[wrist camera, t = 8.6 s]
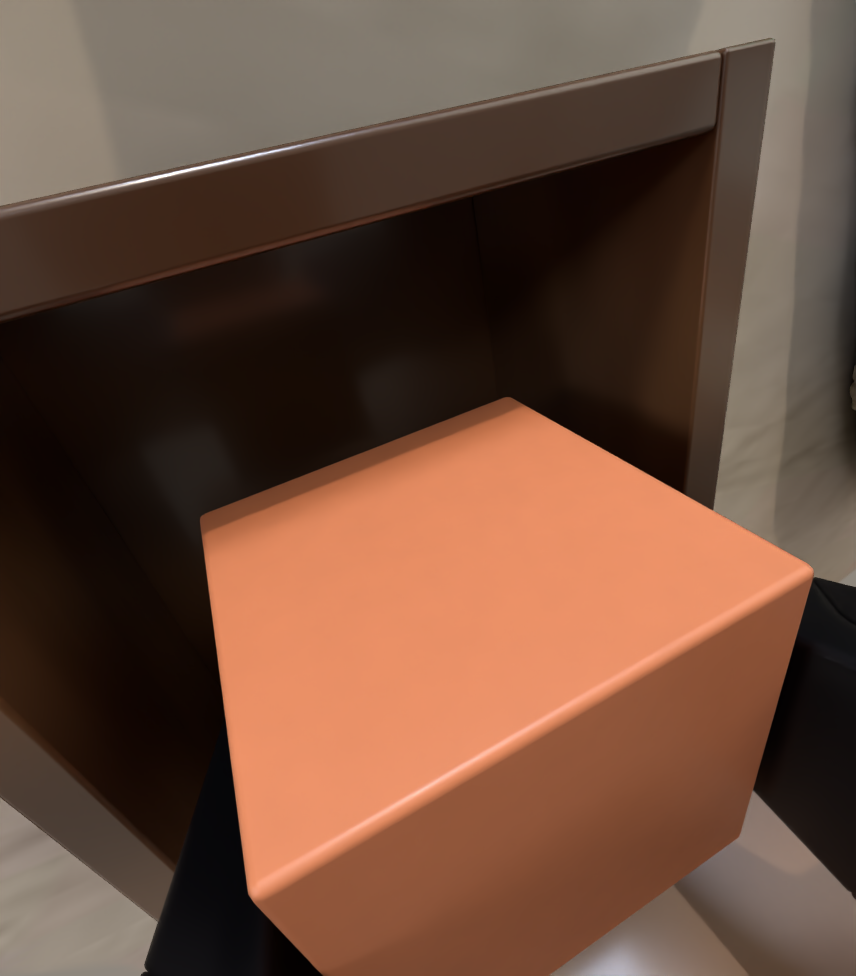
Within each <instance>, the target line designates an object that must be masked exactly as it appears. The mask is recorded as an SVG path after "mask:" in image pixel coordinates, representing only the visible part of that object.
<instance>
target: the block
mask: <svg viewBox="0 0 856 976" xmlns="http://www.w3.org/2000/svg"><path fill="white" fill-rule="evenodd" d="M200 526H201V534H202V542H203V550H204V557H205V565H206V573H207V580H208V588H209V596H210V604H211V611H212V619H213V627H214V634H215V642H216V650H217V658H218V665H219V673H220V681H221V689H222V696H223V704H224V712H225V719H226V727H227V735H228V743H229V750H230V758H231V766H232V773H233V781H234V789H235V797H236V804H237V812H238V820H239V828H240V835H241V843H242V851H243V858H244V866H245V874H246V882H247V889H248V895H249V896H250V898H251V899H252V901H253V902H254V903H255V904H256V905H257V907H258V908H259V909H260V910H261V911H262V912H263V913H264V914H265V915H266V916H267V917H268V918H269V919H270V920H271V921H272V922H273V923H274V924H275V926H276V927H277V928H278V929H279V930H280V931H281V932H282V933H283V934H284V935H285V936H286V937H287V938H288V939H289V940H290V941H291V942H292V944H293V945H294V946H295V947H296V948H297V949H298V950H299V951H300V952H301V953H302V954H303V955H304V956H305V957H306V958H307V959H308V960H309V961H310V963H311V964H312V965H313V966H314V967H315V968H316V969H317V970H318V971H319V972H320V973H321V974H322V975H323V976H549V975H550V974H551V973H553V972H554V971H556V970H557V969H558V968H560V967H561V966H563V965H564V964H565V963H567V962H568V961H569V960H571V959H572V958H574V957H575V956H576V955H578V954H579V953H580V952H582V951H583V950H585V949H586V948H587V947H589V946H590V945H591V944H593V943H594V942H596V941H597V940H598V939H600V938H601V937H602V936H604V935H605V934H607V933H608V932H609V931H611V930H612V929H613V928H615V927H616V926H618V925H619V924H620V923H622V922H623V921H624V920H626V919H627V918H629V917H630V916H631V915H633V914H634V913H635V912H637V911H638V910H640V909H641V908H642V907H644V906H645V905H646V904H648V903H649V902H651V901H652V900H653V899H655V898H656V897H657V896H659V895H660V894H662V893H663V892H664V891H666V890H667V889H668V888H670V887H671V886H673V885H674V884H675V883H677V882H678V881H679V880H681V879H682V878H684V877H685V876H686V875H688V874H689V873H690V872H692V871H693V870H695V869H696V868H697V867H699V866H700V865H701V864H703V863H704V862H706V861H707V860H708V859H710V858H711V857H712V856H714V855H715V854H717V853H718V852H719V851H721V850H722V849H723V848H725V847H726V846H728V845H729V844H730V843H732V842H733V841H734V840H736V839H737V838H739V836H740V833H741V830H742V827H743V823H744V819H745V816H746V812H747V809H748V805H749V802H750V798H751V795H752V791H753V788H754V784H755V781H756V777H757V774H758V770H759V767H760V763H761V759H762V756H763V752H764V749H765V745H766V742H767V738H768V735H769V731H770V728H771V724H772V721H773V717H774V714H775V710H776V706H777V703H778V699H779V696H780V692H781V689H782V685H783V682H784V678H785V675H786V671H787V668H788V664H789V661H790V657H791V654H792V650H793V646H794V643H795V639H796V636H797V632H798V629H799V625H800V622H801V618H802V615H803V611H804V608H805V604H806V601H807V597H808V593H809V590H810V586H811V583H812V579H813V576H814V572H813V569H812V568H811V567H810V566H809V564H807V563H805V562H804V561H802V560H800V559H798V558H797V557H795V556H793V555H791V554H789V553H788V552H786V551H784V550H782V549H780V548H779V547H777V546H775V545H773V544H772V543H770V542H768V541H766V540H764V539H763V538H761V537H759V536H757V535H755V534H754V533H752V532H750V531H748V530H747V529H745V528H743V527H741V526H739V525H738V524H736V523H734V522H732V521H730V520H729V519H727V518H725V517H723V516H722V515H720V514H718V513H716V512H714V511H713V510H711V509H709V508H707V507H706V506H704V505H702V504H700V503H698V502H697V501H695V500H693V499H691V498H689V497H688V496H686V495H684V494H682V493H681V492H679V491H677V490H675V489H673V488H672V487H670V486H668V485H666V484H664V483H663V482H661V481H659V480H657V479H656V478H654V477H652V476H650V475H648V474H647V473H645V472H643V471H641V470H639V469H638V468H636V467H634V466H632V465H631V464H629V463H627V462H625V461H623V460H622V459H620V458H618V457H616V456H614V455H613V454H611V453H609V452H607V451H606V450H604V449H602V448H600V447H598V446H597V445H595V444H593V443H591V442H590V441H588V440H586V439H584V438H582V437H581V436H579V435H577V434H575V433H573V432H572V431H570V430H568V429H566V428H565V427H563V426H561V425H559V424H557V423H556V422H554V421H552V420H550V419H548V418H547V417H545V416H543V415H541V414H540V413H538V412H536V411H534V410H532V409H531V408H529V407H527V406H525V405H523V404H522V403H520V402H518V401H516V400H515V399H513V398H511V397H504V398H502V399H499V400H497V401H494V402H491V403H489V404H486V405H484V406H481V407H478V408H476V409H473V410H471V411H468V412H466V413H463V414H460V415H458V416H455V417H453V418H450V419H448V420H445V421H442V422H440V423H437V424H435V425H432V426H430V427H427V428H424V429H422V430H419V431H417V432H414V433H411V434H409V435H406V436H404V437H401V438H399V439H396V440H393V441H391V442H388V443H386V444H383V445H381V446H378V447H375V448H373V449H370V450H368V451H365V452H363V453H360V454H357V455H355V456H352V457H350V458H347V459H344V460H342V461H339V462H337V463H334V464H332V465H329V466H326V467H324V468H321V469H319V470H316V471H314V472H311V473H308V474H306V475H303V476H301V477H298V478H296V479H293V480H290V481H288V482H285V483H283V484H280V485H277V486H275V487H272V488H270V489H267V490H265V491H262V492H259V493H257V494H254V495H252V496H249V497H247V498H244V499H241V500H239V501H236V502H234V503H231V504H229V505H226V506H223V507H221V508H218V509H216V510H213V511H210V512H208V513H205V514H204V515H202V516H201V517H200Z"/></svg>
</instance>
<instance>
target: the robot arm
mask: <svg viewBox="0 0 856 976" xmlns="http://www.w3.org/2000/svg"><path fill="white" fill-rule="evenodd" d="M753 791H754V792H755V793H756V794H757V795H758V796H759V797H760V798H761V799H762V801H763V802H764V803H765V804H766V805H767V806H768V807H769V808H770V809H771V810H772V811H773V812H774V813H775V814H776V815H777V816H778V817H779V819H780V820H781V821H782V822H783V823H784V824H785V825H786V826H787V827H788V828H789V829H790V830H791V831H792V832H793V833H794V834H795V836H796V837H797V838H798V839H799V840H800V841H801V842H802V843H803V844H804V845H805V846H806V847H807V848H808V849H809V850H810V851H811V852H812V854H813V855H814V856H815V857H816V858H817V859H818V860H819V861H820V862H821V863H822V864H823V865H824V866H825V867H826V868H827V869H828V871H829V872H830V873H831V874H832V875H833V876H834V877H835V878H836V879H837V880H838V881H839V882H840V883H841V884H842V885H843V886H844V887H845V889H846V890H847V891H849V892H851V894H852V896H853V898H854V899H855V900H856V587H853V586H848V585H844V584H840V583H836V582H832V581H828V580H825V579H821V578H817V577H815V578H813V579H812V583H811V586H810V590H809V593H808V597H807V601H806V604H805V608H804V611H803V615H802V618H801V622H800V625H799V629H798V632H797V636H796V639H795V643H794V646H793V650H792V654H791V657H790V661H789V664H788V668H787V671H786V675H785V678H784V682H783V685H782V689H781V692H780V696H779V699H778V703H777V706H776V710H775V714H774V717H773V721H772V724H771V728H770V731H769V735H768V738H767V742H766V745H765V749H764V752H763V756H762V759H761V763H760V767H759V770H758V774H757V777H756V781H755V784H754V788H753ZM144 966H145V969H146V970H147V971H148V972H143V973H142V974H141V976H323V975H322V974H321V973H320V972H319V971H318V970H317V969H316V968H315V967H314V966H313V965H312V964H311V963H310V961H309V960H308V959H307V958H306V957H305V956H304V955H303V954H302V953H301V952H300V951H299V950H298V949H297V948H296V947H295V946H294V945H293V944H292V942H291V941H290V940H289V939H288V938H287V937H286V936H285V935H284V934H283V933H282V932H281V931H280V930H279V929H278V928H277V927H276V926H275V924H274V923H273V922H272V921H271V920H270V919H269V918H268V917H267V916H266V915H265V914H264V913H263V912H262V911H261V910H260V909H259V908H258V907H257V905H256V904H255V903H254V902H253V901H252V899H251V898H250V896H249V895H248V889H247V882H246V874H245V866H244V858H243V851H242V843H241V835H240V828H239V820H238V812H237V804H236V797H235V789H234V781H233V773H232V766H231V758H230V750H229V743H228V735H227V727H226V719H225V718H224V721H223V724H222V727H221V730H220V733H219V736H218V739H217V742H216V745H215V748H214V751H213V754H212V758H211V761H210V764H209V767H208V770H207V773H206V776H205V779H204V782H203V785H202V788H201V791H200V795H199V798H198V801H197V804H196V807H195V810H194V813H193V816H192V819H191V822H190V825H189V828H188V832H187V835H186V838H185V841H184V844H183V847H182V850H181V853H180V856H179V859H178V862H177V865H176V868H175V872H174V875H173V878H172V881H171V884H170V887H169V890H168V893H167V896H166V899H165V902H164V905H163V909H162V912H161V915H160V918H159V921H158V924H157V927H156V930H155V933H154V936H153V939H152V942H151V945H150V949H149V952H148V955H147V958H146V961H145V964H144Z"/></svg>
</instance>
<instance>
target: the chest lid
mask: <svg viewBox="0 0 856 976" xmlns="http://www.w3.org/2000/svg"><path fill="white" fill-rule="evenodd" d="M549 976H856V900H855V899H854V898H853V896H852V894H851V892H849V891H847V890H846V889H845V887H844V886H843V885H842V884H841V883H840V882H839V881H838V880H837V879H836V878H835V877H834V876H833V875H832V874H831V873H830V872H829V871H828V869H827V868H826V867H825V866H824V865H823V864H822V863H821V862H820V861H819V860H818V859H817V858H816V857H815V856H814V855H813V854H812V852H811V851H810V850H809V849H808V848H807V847H806V846H805V845H804V844H803V843H802V842H801V841H800V840H799V839H798V838H797V837H796V836H795V834H794V833H793V832H792V831H791V830H790V829H789V828H788V827H787V826H786V825H785V824H784V823H783V822H782V821H781V820H780V819H779V817H778V816H777V815H776V814H775V813H774V812H773V811H772V810H771V809H770V808H769V807H768V806H767V805H766V804H765V803H764V802H763V801H762V799H761V798H760V797H759V796H758V795H757V794H756V793H755V792H754V791H752V795H751V798H750V802H749V805H748V809H747V812H746V816H745V819H744V823H743V827H742V830H741V833H740V836H739V838H737V839H736V840H734V841H733V842H732V843H730V844H729V845H728V846H726V847H725V848H723V849H722V850H721V851H719V852H718V853H717V854H715V855H714V856H712V857H711V858H710V859H708V860H707V861H706V862H704V863H703V864H701V865H700V866H699V867H697V868H696V869H695V870H693V871H692V872H690V873H689V874H688V875H686V876H685V877H684V878H682V879H681V880H679V881H678V882H677V883H675V884H674V885H673V886H671V887H670V888H668V889H667V890H666V891H664V892H663V893H662V894H660V895H659V896H657V897H656V898H655V899H653V900H652V901H651V902H649V903H648V904H646V905H645V906H644V907H642V908H641V909H640V910H638V911H637V912H635V913H634V914H633V915H631V916H630V917H629V918H627V919H626V920H624V921H623V922H622V923H620V924H619V925H618V926H616V927H615V928H613V929H612V930H611V931H609V932H608V933H607V934H605V935H604V936H602V937H601V938H600V939H598V940H597V941H596V942H594V943H593V944H591V945H590V946H589V947H587V948H586V949H585V950H583V951H582V952H580V953H579V954H578V955H576V956H575V957H574V958H572V959H571V960H569V961H568V962H567V963H565V964H564V965H563V966H561V967H560V968H558V969H557V970H556V971H554V972H553V973H551V974H550V975H549Z"/></svg>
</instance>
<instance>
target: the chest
mask: <svg viewBox="0 0 856 976" xmlns="http://www.w3.org/2000/svg"><path fill="white" fill-rule="evenodd" d="M774 49H775V39H772V38H767V39H763V40H758V41H754V42H749V43H745V44H740V45H735V46H731V47H726V48H723V49H719V50H715V51H709V52H704V53H699V54H695V55H690V56H686V57H681V58H677V59H672V60H667V61H663V62H658V63H654V64H649V65H644V66H640V67H635V68H631V69H626V70H622V71H617V72H612V73H608V74H603V75H599V76H594V77H589V78H585V79H580V80H576V81H571V82H567V83H562V84H557V85H553V86H548V87H544V88H539V89H535V90H530V91H525V92H521V93H516V94H512V95H507V96H502V97H498V98H493V99H489V100H484V101H480V102H475V103H470V104H466V105H461V106H457V107H452V108H448V109H443V110H438V111H434V112H429V113H425V114H420V115H415V116H411V117H406V118H402V119H397V120H393V121H388V122H383V123H379V124H374V125H370V126H365V127H361V128H356V129H351V130H347V131H342V132H338V133H333V134H328V135H324V136H319V137H315V138H310V139H306V140H301V141H296V142H292V143H287V144H283V145H278V146H274V147H269V148H264V149H260V150H255V151H251V152H246V153H241V154H237V155H232V156H228V157H223V158H219V159H214V160H209V161H205V162H200V163H196V164H191V165H187V166H182V167H177V168H173V169H168V170H164V171H159V172H154V173H150V174H145V175H141V176H136V177H132V178H127V179H122V180H118V181H113V182H109V183H104V184H99V185H95V186H90V187H86V188H81V189H77V190H72V191H67V192H63V193H58V194H54V195H49V196H45V197H40V198H35V199H31V200H26V201H22V202H17V203H12V204H8V205H3V206H0V797H1V798H2V799H3V800H4V801H6V802H7V803H8V804H9V805H11V806H12V807H13V808H14V809H16V810H17V811H18V812H19V813H21V814H22V815H23V816H25V817H26V818H27V819H28V820H30V821H31V822H32V823H33V824H35V825H36V826H37V827H38V828H40V829H41V830H42V831H44V832H45V833H46V834H47V835H49V836H50V837H51V838H52V839H54V840H55V841H56V842H57V843H59V844H60V845H61V846H62V847H64V848H65V849H66V850H68V851H69V852H70V853H71V854H73V855H74V856H75V857H76V858H78V859H79V860H80V861H81V862H83V863H84V864H85V865H87V866H88V867H89V868H90V869H92V870H93V871H94V872H95V873H97V874H98V875H99V876H100V877H102V878H103V879H104V880H105V881H107V882H108V883H109V884H111V885H112V886H113V887H114V888H116V889H117V890H118V891H119V892H121V893H122V894H123V895H124V896H126V897H127V898H128V899H130V900H131V901H132V902H133V903H135V904H136V905H137V906H138V907H140V908H141V909H142V910H143V911H145V912H146V913H147V914H148V915H150V916H151V917H152V918H154V919H155V920H156V921H157V922H158V921H159V918H160V915H161V912H162V909H163V905H164V902H165V899H166V896H167V893H168V890H169V887H170V884H171V881H172V878H173V875H174V872H175V868H176V865H177V862H178V859H179V856H180V853H181V850H182V847H183V844H184V841H185V838H186V835H187V832H188V828H189V825H190V822H191V819H192V816H193V813H194V810H195V807H196V804H197V801H198V798H199V795H200V791H201V788H202V785H203V782H204V779H205V776H206V773H207V770H208V767H209V764H210V761H211V758H212V754H213V751H214V748H215V745H216V742H217V739H218V736H219V733H220V730H221V727H222V724H223V721H224V718H225V712H224V704H223V696H222V689H221V681H220V673H219V665H218V658H217V650H216V642H215V634H214V627H213V619H212V611H211V604H210V596H209V588H208V580H207V573H206V565H205V557H204V550H203V542H202V534H201V526H200V517H201V516H202V515H204V514H205V513H208V512H210V511H213V510H216V509H218V508H221V507H223V506H226V505H229V504H231V503H234V502H236V501H239V500H241V499H244V498H247V497H249V496H252V495H254V494H257V493H259V492H262V491H265V490H267V489H270V488H272V487H275V486H277V485H280V484H283V483H285V482H288V481H290V480H293V479H296V478H298V477H301V476H303V475H306V474H308V473H311V472H314V471H316V470H319V469H321V468H324V467H326V466H329V465H332V464H334V463H337V462H339V461H342V460H344V459H347V458H350V457H352V456H355V455H357V454H360V453H363V452H365V451H368V450H370V449H373V448H375V447H378V446H381V445H383V444H386V443H388V442H391V441H393V440H396V439H399V438H401V437H404V436H406V435H409V434H411V433H414V432H417V431H419V430H422V429H424V428H427V427H430V426H432V425H435V424H437V423H440V422H442V421H445V420H448V419H450V418H453V417H455V416H458V415H460V414H463V413H466V412H468V411H471V410H473V409H476V408H478V407H481V406H484V405H486V404H489V403H491V402H494V401H497V400H499V399H502V398H504V397H511V398H513V399H515V400H516V401H518V402H520V403H522V404H523V405H525V406H527V407H529V408H531V409H532V410H534V411H536V412H538V413H540V414H541V415H543V416H545V417H547V418H548V419H550V420H552V421H554V422H556V423H557V424H559V425H561V426H563V427H565V428H566V429H568V430H570V431H572V432H573V433H575V434H577V435H579V436H581V437H582V438H584V439H586V440H588V441H590V442H591V443H593V444H595V445H597V446H598V447H600V448H602V449H604V450H606V451H607V452H609V453H611V454H613V455H614V456H616V457H618V458H620V459H622V460H623V461H625V462H627V463H629V464H631V465H632V466H634V467H636V468H638V469H639V470H641V471H643V472H645V473H647V474H648V475H650V476H652V477H654V478H656V479H657V480H659V481H661V482H663V483H664V484H666V485H668V486H670V487H672V488H673V489H675V490H677V491H679V492H681V493H682V494H684V495H686V496H688V497H689V498H691V499H693V500H695V501H697V502H698V503H700V504H702V505H704V506H706V507H707V508H709V509H711V510H713V507H714V500H715V492H716V485H717V477H718V470H719V462H720V455H721V447H722V440H723V432H724V425H725V417H726V410H727V402H728V395H729V387H730V380H731V372H732V365H733V357H734V349H735V342H736V334H737V327H738V319H739V312H740V304H741V297H742V289H743V282H744V274H745V267H746V259H747V252H748V244H749V237H750V229H751V222H752V214H753V207H754V199H755V192H756V184H757V177H758V169H759V162H760V154H761V147H762V139H763V131H764V124H765V116H766V109H767V101H768V94H769V86H770V79H771V71H772V64H773V56H774Z"/></svg>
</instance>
